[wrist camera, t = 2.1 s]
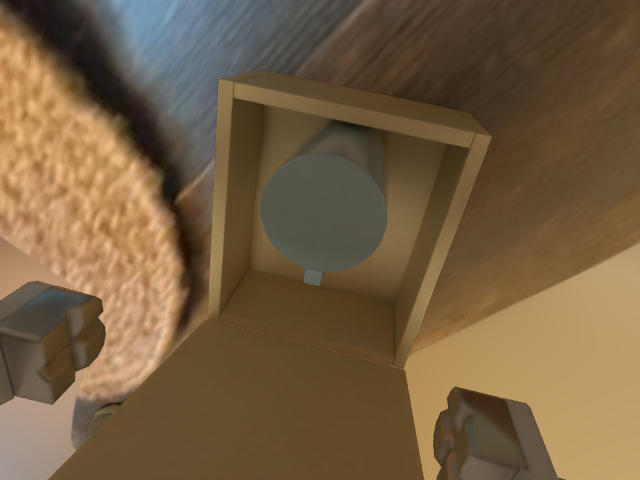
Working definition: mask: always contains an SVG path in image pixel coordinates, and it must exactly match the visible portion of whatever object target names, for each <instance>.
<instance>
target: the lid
mask: <svg viewBox="0 0 640 480" xmlns="http://www.w3.org/2000/svg"><path fill="white" fill-rule="evenodd" d="M48 480H424V477H423V472H422V465H421V460H420V454H419V448H418V442H417V437H416V431H415V425H414V419H413V414H412V408H411V402H410V396H409V391H408V385H407V380H406V373H405V370H403V369H400V368H396V367H392V366H388V365H384V364H380V363H376V362H372V361H368V360H364V359H360V358H356V357H353V356H349V355H345V354H341V353H337V352H333V351H329V350H325V349H321V348H317V347H313V346H309V345H305V344H301V343H297V342H293V341H290V340H286V339H282V338H278V337H274V336H270V335H266V334H262V333H258V332H254V331H250V330H246V329H242V328H238V327H234V326H230V325H227V324H223V323H219V322H215V321H211V320H207V319H206V320H204V321H203V322H202V324H201V325H200V326H199V327H198V328H197V329H196V330H195V331H194V332H193V333H192V334H191V335H190V336H189V337H188V338H187V339H186V340H185V341H184V342H183V343H182V344H181V345H180V346H179V347H178V348H177V349H176V350H175V351H174V352H173V353H172V354H171V355H170V356H169V357H168V358H167V359H166V360H165V361H164V362H163V363H162V364H161V365H160V366H159V367H158V368H157V369H156V370H155V371H154V372H153V373H152V374H151V375H150V376H149V377H148V378H147V380H146V381H145V382H144V383H143V384H142V385H141V386H140V387H139V388H138V389H137V390H136V391H135V392H134V393H133V394H132V395H131V396H130V397H129V398H128V399H127V400H126V401H125V402H124V403H123V404H122V405H121V406H120V407H119V408H118V409H117V410H116V411H115V412H114V413H113V414H112V415H111V416H110V417H109V418H108V419H107V420H106V421H105V422H104V423H103V424H102V425H101V426H100V427H99V428H98V429H97V430H96V431H95V432H94V433H93V434H92V435H91V437H90V438H89V439H88V440H87V441H86V442H85V443H84V444H83V445H82V446H81V447H80V448H79V449H78V450H77V451H76V452H75V453H74V454H73V455H72V456H71V457H70V458H69V459H68V460H67V461H66V462H65V463H64V464H63V465H62V466H61V467H60V468H59V469H58V470H57V471H56V472H55V473H54V474H53V475H52V476H51V477H50V478H49V479H48Z"/></svg>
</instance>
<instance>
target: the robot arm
mask: <svg viewBox="0 0 640 480" xmlns="http://www.w3.org/2000/svg"><path fill="white" fill-rule="evenodd" d="M102 312H103V306H102V300H101V299H99V298H97V297H96V296H92V295H88V294H85V293H81V292H78V291H73V290H70V289H67V288H63V287H60V286H54V285H50V284H47V283H43V282H40V281H33V282H28V283H26V284H25V285H23V286H22V287H20V288H19V289H17V290H16V291H14V292H12V293H11V294H9V295H8V296H6V297H5V298H3V299H2V300H0V405H2V404H3V403H6V402H7V401H10V400H12V399H13V398H14V396H17V397H21V398H26V399H30V400H34V401H38V402H42V403H47V404H51V405H53V404H54V403H55V402H56V401H57V400H58V398H59V397H60V396H61V395H62V394H63V393H64V392H65V391H66V390H67V389H68V388H69V387H70V386H71V385H72V383H74V382H75V372H76V371H79V370H81V369H83V368H86V367H88V366H90V364H91V363H92V362H93V361H94V360H95V359H96V358H97V357H98V355H99V353H100V351H101V349H102V347H103V345H104V341H105V335H106V334H105V326H104V325H103V323H102V322H101V321H100V319H99V318H98V317H99V315H100V314H101V313H102ZM447 402H448V409H446V410H444V411H442V412H441V413H440V415H439V417H438V419H437V422H436V426H435V431H434V440H433V441H434V442H433V446H434V457H435V458H436V460H437V461H438V463H439V464H440V466H441V467H442V468H441V470H440V471H439V474H438V476H437V480H565V479H561V478H558V477H557V475H556V472H555V469H554V467H553V465H552V462H551V459H550V457H549V454H548V452H547V449H546V446H545V444H544V441H543V439H542V436H541V434H540V431H539V429H538V426H537V424H536V421H535V418H534V416H533V413H532V411H531V408H530V407H529V406H528V405H527V404H526V403H522V402H518V401H514V400H510V399H505V398H499V397H496V396H492V395H488V394H484V393H479V392H476V391H471V390H467V389H463V388H459V387H454V388H453V389H452V390H451V391H450V393H449V396H448V397H447Z"/></svg>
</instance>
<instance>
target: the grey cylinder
mask: <svg viewBox="0 0 640 480" xmlns="http://www.w3.org/2000/svg"><path fill="white" fill-rule="evenodd" d="M389 165H390V143H389V139H388V136H387V133H386V132H385V130H381V129H376V128H371V127H367V126H362V125H357V124H353V123H348V122H343V121H339V120H334V119H329V118H323V119H322V120H321V121H320V122H319V123H318V124H317V125H316V127H315V128H314V129H313V130H312V131H311V132H310V133H309V134H308V135H307V137H306V138H305V139H304V140H303V141H302V142H301V143H300V144H299V145H298V147H297V148H296V149H295V150H294V151H293V152H292V153H291V154H290V156H289V157H288V158H287V159H286V160H285V161H284V162H283V163H282V164H281V166H280V167H279V168H278V169H277V170H276V171H275V172H274V173H273V174H272V176H271V177H270V179H269V180H268V182H267V184H266V186H265V188H264V191H263V194H262V198H261V206H260V212H261V220H262V224H263V227H264V230H265V232H266V234H267V236H268V238H269V240H270V241H271V243H272V244H273V246H274V247H275V248H276V249H277V250H278V251H279V252H280V253H281V254H282V255H283V256H284V257H285V258H287V259H288V260H290V261H291V262H293V263H295V264H296V265H299V266H301V267H303V268H305V273H304V279H303V282H304V283H308V284H312V285H316V286H320V285H321V282H322V278H323V277H324V274H325V272H337V271H343V270H346V269H349V268H352V267H354V266H357V265H358V264H360V263H362V262H363V261H365V260H366V259H367V258H368V257H370V256H371V255H372V254H373V253H374V252H375V250H376V249H377V248H378V246H379V245H380V243H381V241H382V239H383V237H384V234H385V231H386V226H387V213H388V189H389Z"/></svg>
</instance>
